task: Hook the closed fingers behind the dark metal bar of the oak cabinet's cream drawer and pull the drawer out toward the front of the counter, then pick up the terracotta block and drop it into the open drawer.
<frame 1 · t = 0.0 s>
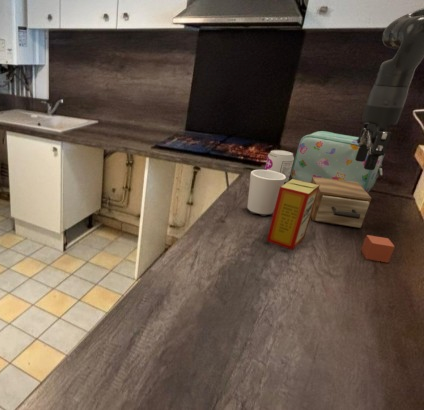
hand: (363, 165, 98), 19 cm above the table, tool pointing down, fingers open, 8 cm apart
supplement can: (272, 193, 131), on the table
drawer: (338, 206, 108), point 5 cm above the table, slide at 0.5 cm
lunch box: (328, 190, 134), on the table
cabinet: (330, 214, 114), on the table
block: (374, 256, 91), on the table
baking soda box: (285, 239, 98), on the table
cup: (259, 212, 115), on the table
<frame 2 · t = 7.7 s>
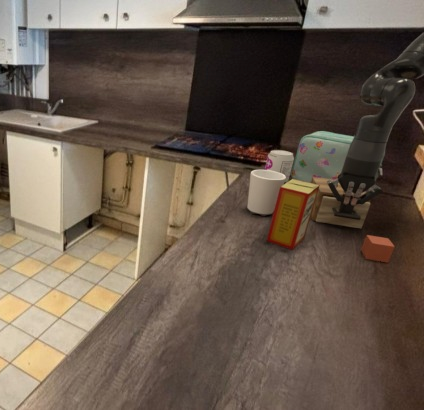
hand: (343, 215, 101), 5 cm above the table, tool pointing down, fingers closed
drawer: (339, 207, 107), point 5 cm above the table, slide at 1.2 cm, touching gripper
everything else where it was.
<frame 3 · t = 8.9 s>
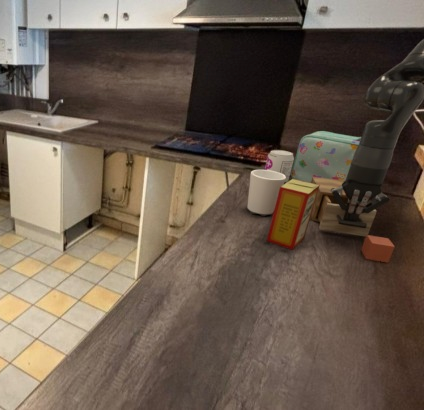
hand: (348, 224, 97), 5 cm above the table, tool pointing down, fingers closed
drawer: (343, 214, 102), point 5 cm above the table, slide at 6.7 cm, touching gripper
everything else where it was.
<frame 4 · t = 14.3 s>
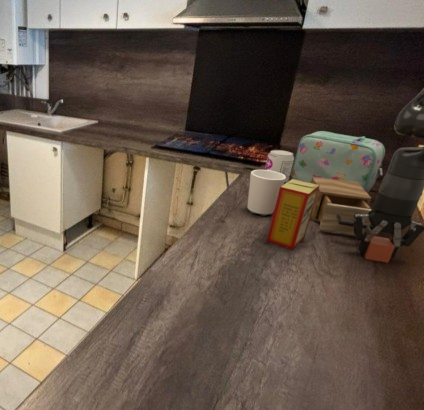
hand: (374, 255, 91), 0 cm above the table, tool pointing down, fingers closed on block, 4 cm apart
drawer: (343, 214, 102), point 5 cm above the table, slide at 6.8 cm
block: (374, 256, 91), on the table, touching gripper
everything else where it was.
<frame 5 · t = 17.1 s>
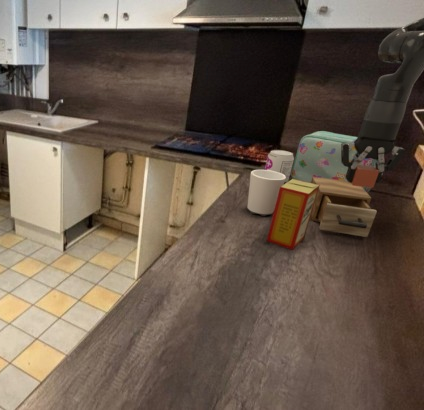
hand: (360, 182, 96), 15 cm above the table, tool pointing down, fingers closed on block, 4 cm apart
block: (360, 183, 97), point 15 cm above the table, touching gripper
everything else where it was.
when the fingers open (8 cm above the table, at t = 20.3 s): block stays where it is, resting on drawer.
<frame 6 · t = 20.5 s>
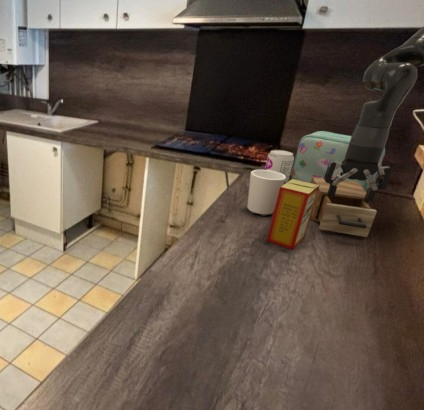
hand: (348, 199, 101), 9 cm above the table, tool pointing down, fingers open, 8 cm apart
drawer: (343, 214, 102), point 5 cm above the table, slide at 6.8 cm, touching block
block: (340, 222, 104), point 2 cm above the table, touching drawer
everything else where it was.
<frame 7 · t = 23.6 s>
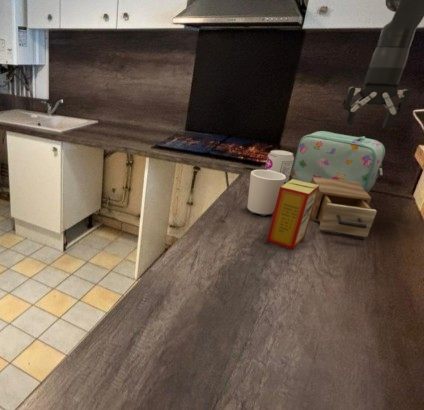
hand: (366, 126, 103), 28 cm above the table, tool pointing down, fingers open, 8 cm apart
nothing on the table moved.
at the end: drawer slide at 6.8 cm; block inside the target area in the drawer (2.9 cm from its centre), point 2.0 cm above the cabinet's base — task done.
